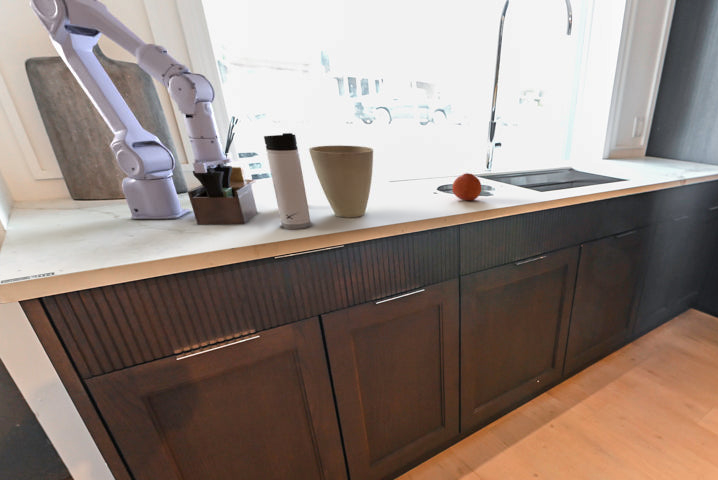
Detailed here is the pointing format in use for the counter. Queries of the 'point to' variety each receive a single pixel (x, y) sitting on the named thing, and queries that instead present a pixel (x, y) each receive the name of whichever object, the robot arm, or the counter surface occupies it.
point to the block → (226, 192)
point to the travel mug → (288, 180)
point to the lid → (238, 178)
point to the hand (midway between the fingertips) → (221, 200)
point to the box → (223, 206)
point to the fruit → (467, 187)
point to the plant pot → (344, 177)
